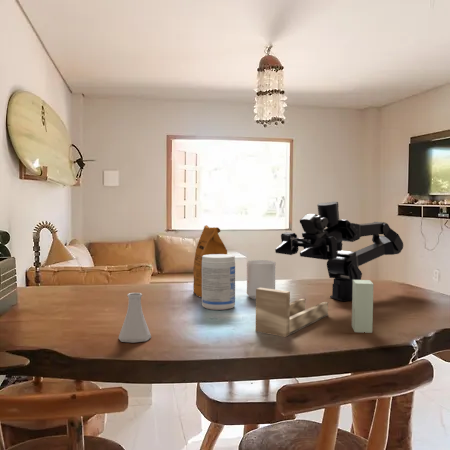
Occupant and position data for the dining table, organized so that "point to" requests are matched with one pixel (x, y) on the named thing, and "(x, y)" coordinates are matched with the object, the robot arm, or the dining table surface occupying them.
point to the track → (284, 312)
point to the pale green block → (362, 306)
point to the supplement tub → (218, 281)
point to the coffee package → (205, 246)
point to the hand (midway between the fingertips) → (287, 252)
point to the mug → (260, 276)
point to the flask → (134, 322)
